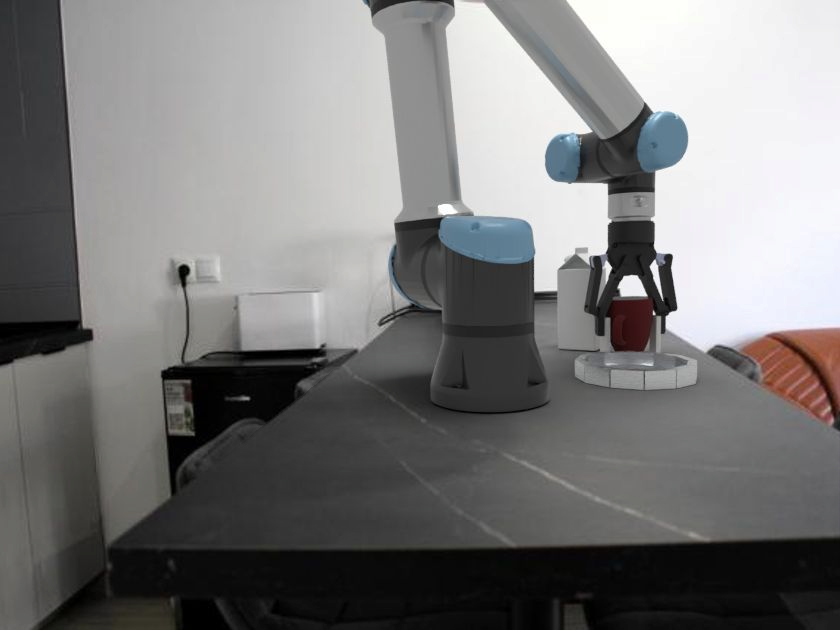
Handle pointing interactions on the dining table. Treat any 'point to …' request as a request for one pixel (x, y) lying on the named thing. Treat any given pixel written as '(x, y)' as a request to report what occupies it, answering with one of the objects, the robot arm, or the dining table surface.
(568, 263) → the milk carton
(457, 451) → the dining table surface
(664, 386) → the round white tray
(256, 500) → the dining table surface
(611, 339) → the mug
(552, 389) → the dining table surface
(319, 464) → the dining table surface
